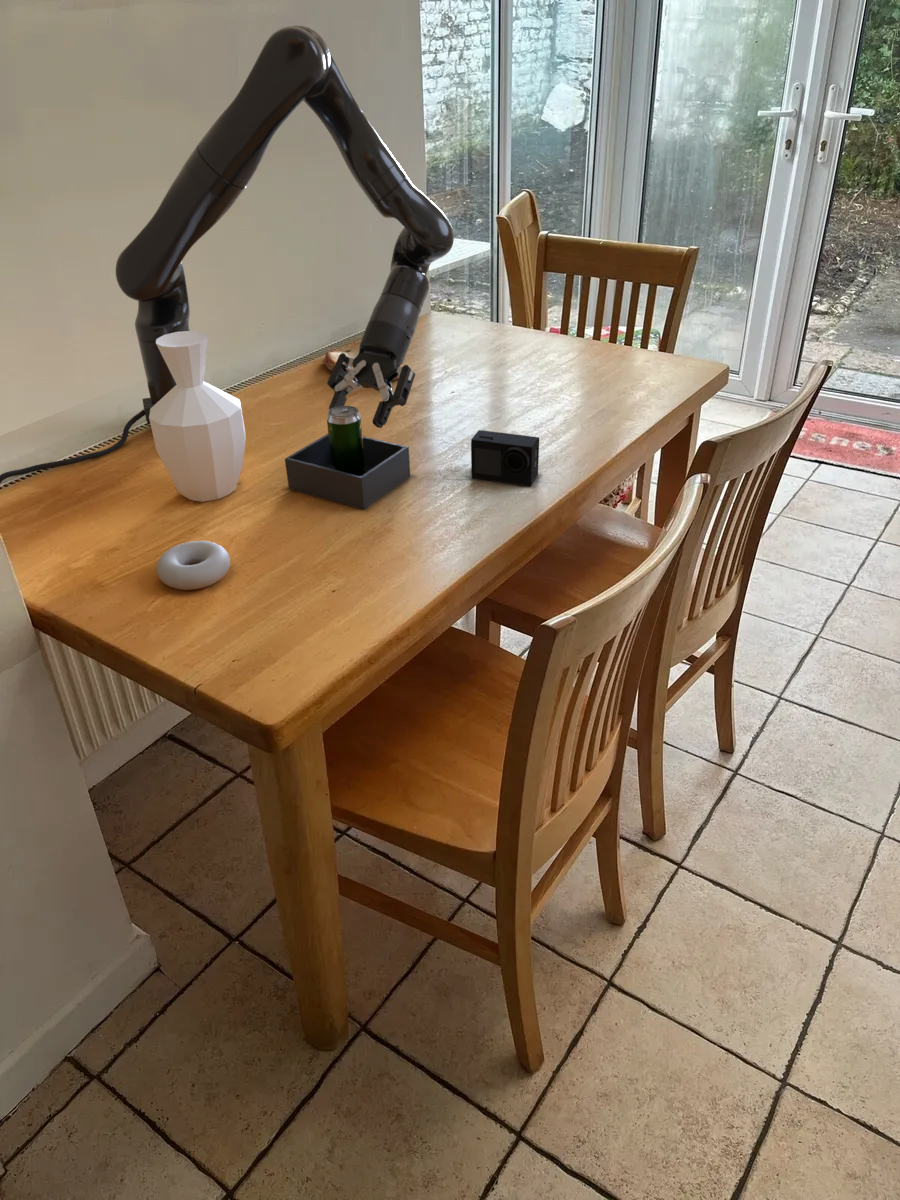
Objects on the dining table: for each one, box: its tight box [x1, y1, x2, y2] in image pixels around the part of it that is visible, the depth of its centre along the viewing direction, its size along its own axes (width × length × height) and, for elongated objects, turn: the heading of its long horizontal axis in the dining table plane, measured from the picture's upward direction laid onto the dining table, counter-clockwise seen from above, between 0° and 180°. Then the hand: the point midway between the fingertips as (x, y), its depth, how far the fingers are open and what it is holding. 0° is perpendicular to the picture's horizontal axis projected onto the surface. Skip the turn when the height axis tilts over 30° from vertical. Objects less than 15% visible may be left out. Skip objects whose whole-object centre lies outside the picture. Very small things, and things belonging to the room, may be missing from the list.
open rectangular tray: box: [284, 433, 411, 510], centre depth 146 cm, size 13×15×5 cm
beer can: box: [326, 405, 366, 476], centre depth 144 cm, size 5×5×12 cm
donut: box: [156, 540, 231, 591], centre depth 124 cm, size 10×4×10 cm
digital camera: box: [470, 429, 540, 487], centre depth 145 cm, size 10×5×7 cm, turn 70°
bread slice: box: [323, 341, 402, 382], centre depth 192 cm, size 18×18×4 cm
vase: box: [149, 330, 247, 503], centre depth 140 cm, size 14×14×25 cm
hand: (355, 420), depth 144 cm, fingers open, 8 cm apart
